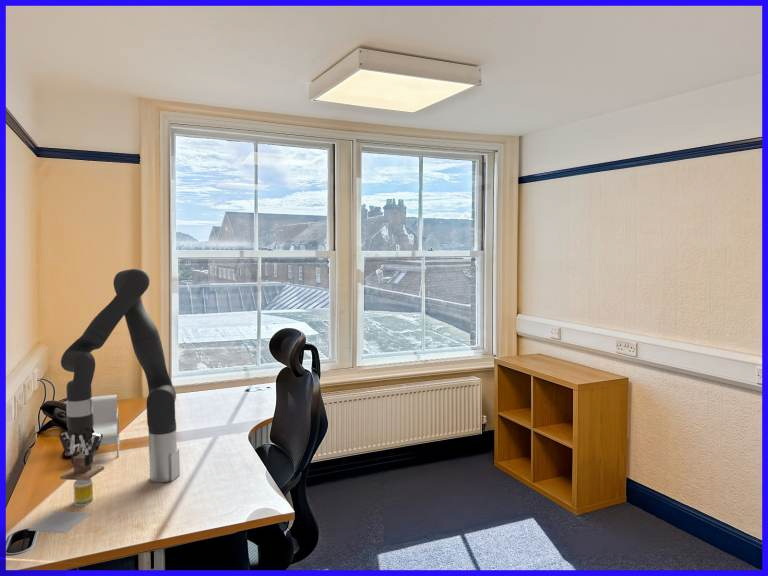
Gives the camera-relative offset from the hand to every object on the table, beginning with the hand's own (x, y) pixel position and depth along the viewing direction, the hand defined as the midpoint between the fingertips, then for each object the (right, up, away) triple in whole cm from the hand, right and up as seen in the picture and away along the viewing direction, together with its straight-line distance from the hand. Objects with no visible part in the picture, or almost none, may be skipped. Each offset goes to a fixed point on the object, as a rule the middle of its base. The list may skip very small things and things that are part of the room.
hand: (82, 464), depth 187 cm
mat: (0, -14, -12) cm, 18 cm away
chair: (-17, -9, +48) cm, 51 cm away
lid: (0, -3, 0) cm, 3 cm away
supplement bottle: (0, -13, +1) cm, 13 cm away
